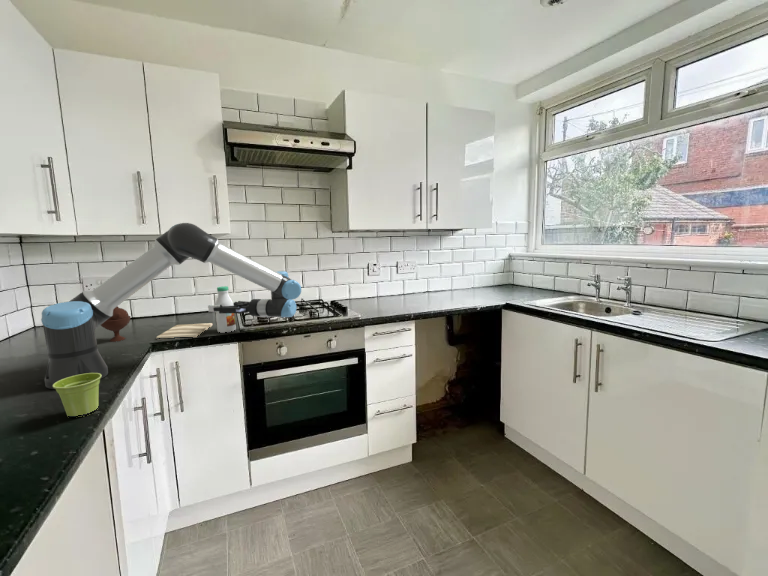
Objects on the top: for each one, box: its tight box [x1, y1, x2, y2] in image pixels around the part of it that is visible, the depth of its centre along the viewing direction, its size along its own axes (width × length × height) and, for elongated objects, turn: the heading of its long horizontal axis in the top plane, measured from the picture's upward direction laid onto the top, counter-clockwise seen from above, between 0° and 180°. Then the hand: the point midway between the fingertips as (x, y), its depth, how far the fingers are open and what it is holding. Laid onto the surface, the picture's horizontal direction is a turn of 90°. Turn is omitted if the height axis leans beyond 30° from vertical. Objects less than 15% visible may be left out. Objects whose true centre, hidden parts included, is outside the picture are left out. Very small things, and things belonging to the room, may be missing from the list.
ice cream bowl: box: [100, 305, 131, 343], centre depth 157 cm, size 11×11×15 cm
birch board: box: [156, 322, 213, 339], centre depth 168 cm, size 20×16×1 cm
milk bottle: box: [214, 285, 237, 334], centre depth 167 cm, size 8×8×20 cm
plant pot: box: [53, 373, 102, 417], centre depth 93 cm, size 9×9×9 cm
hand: (215, 306), depth 168 cm, fingers closed on milk bottle, 7 cm apart
